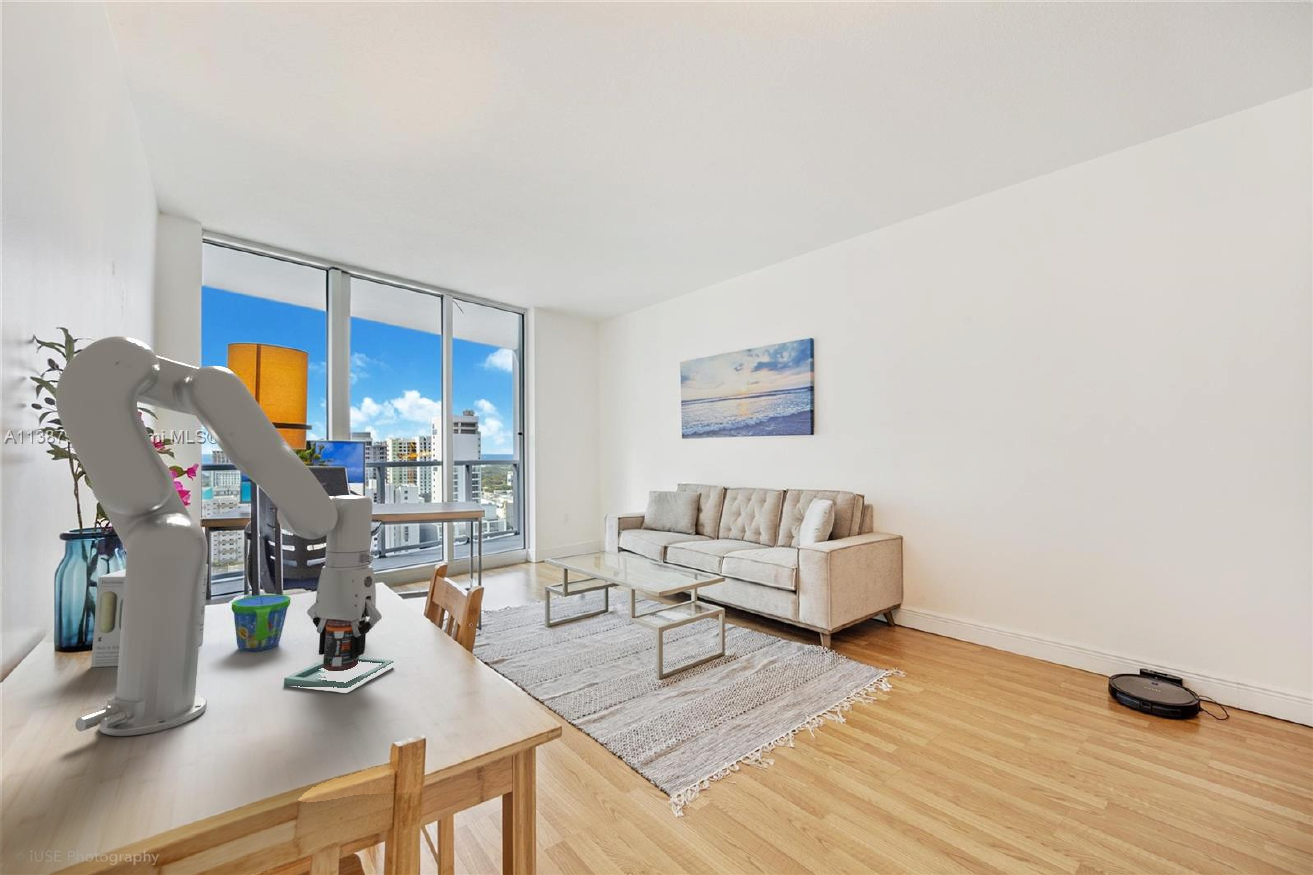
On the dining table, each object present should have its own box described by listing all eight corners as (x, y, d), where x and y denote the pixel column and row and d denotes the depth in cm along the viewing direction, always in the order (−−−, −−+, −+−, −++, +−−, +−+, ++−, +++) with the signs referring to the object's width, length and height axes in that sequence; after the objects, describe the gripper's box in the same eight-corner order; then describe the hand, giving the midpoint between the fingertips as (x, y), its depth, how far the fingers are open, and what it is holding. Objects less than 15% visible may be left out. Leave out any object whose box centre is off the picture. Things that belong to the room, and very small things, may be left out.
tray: (346, 694, 99) (346, 685, 100) (283, 686, 102) (284, 678, 102) (393, 668, 112) (393, 660, 112) (336, 662, 115) (337, 654, 115)
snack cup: (286, 654, 118) (289, 605, 119) (223, 661, 113) (227, 610, 113) (289, 633, 132) (291, 590, 132) (233, 639, 126) (236, 594, 127)
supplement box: (87, 668, 107) (95, 576, 108) (131, 646, 120) (137, 564, 121) (170, 664, 111) (176, 575, 112) (204, 643, 124) (210, 563, 124)
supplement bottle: (342, 674, 104) (346, 612, 104) (315, 670, 105) (319, 609, 105) (365, 663, 109) (369, 604, 110) (339, 660, 111) (343, 602, 111)
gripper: (399, 559, 110) (394, 652, 109) (323, 553, 113) (317, 644, 112) (373, 565, 103) (367, 665, 102) (293, 559, 106) (286, 656, 105)
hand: (341, 653), depth 107 cm, fingers closed on supplement bottle, 6 cm apart
